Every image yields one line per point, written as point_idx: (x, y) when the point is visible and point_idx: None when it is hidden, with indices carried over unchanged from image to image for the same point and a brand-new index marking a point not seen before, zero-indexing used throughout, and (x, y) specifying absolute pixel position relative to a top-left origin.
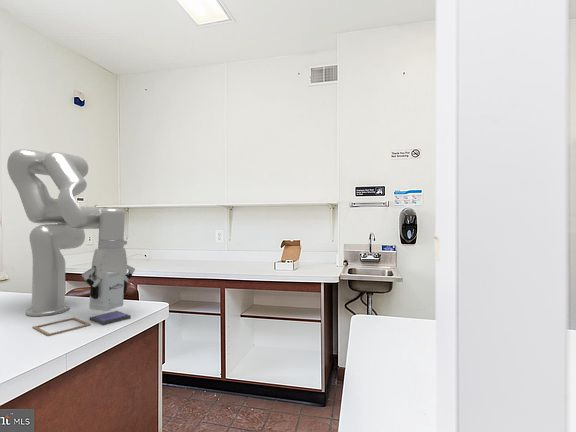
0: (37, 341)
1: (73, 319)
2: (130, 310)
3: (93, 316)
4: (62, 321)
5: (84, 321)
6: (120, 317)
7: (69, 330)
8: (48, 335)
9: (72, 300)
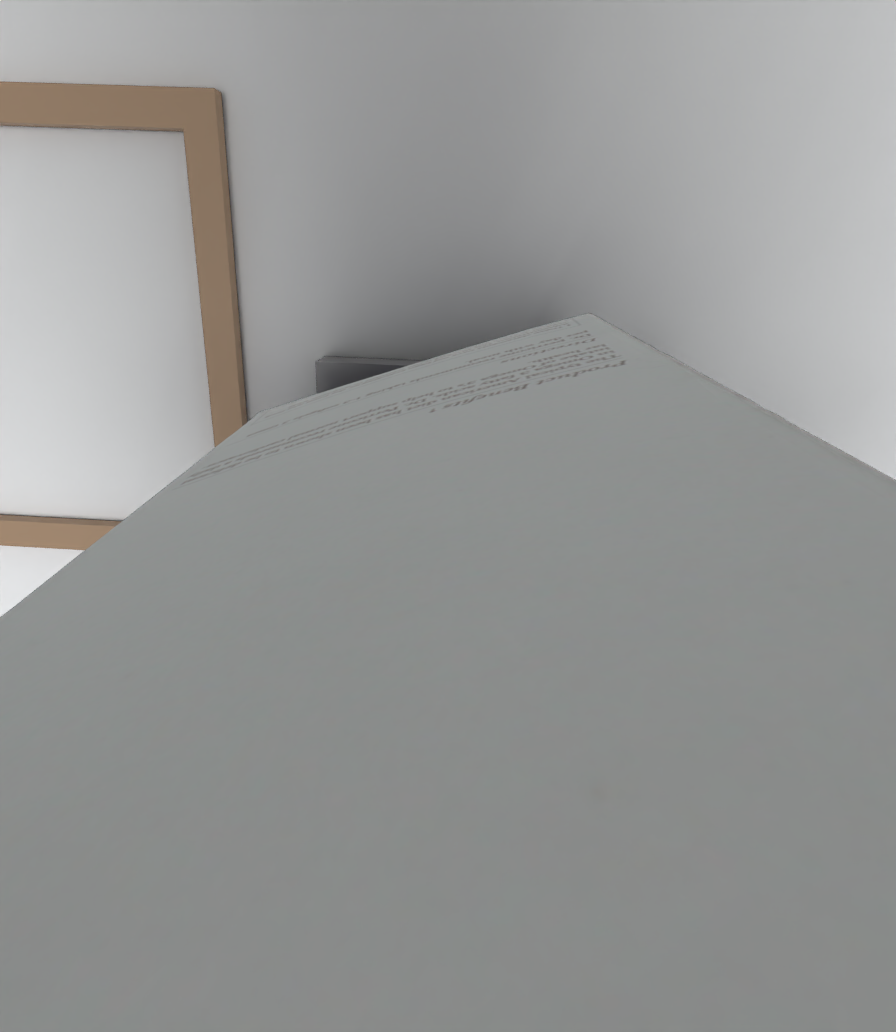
0: None
1: (191, 155)
2: (871, 387)
3: None
4: (61, 124)
5: (239, 413)
6: None
7: (55, 544)
8: None
9: None
